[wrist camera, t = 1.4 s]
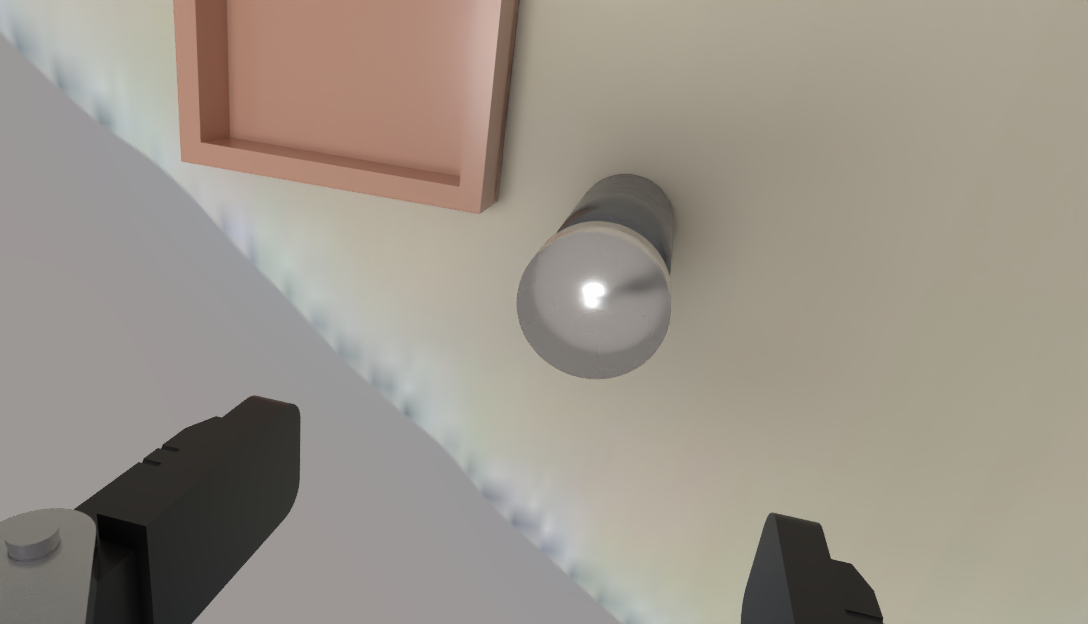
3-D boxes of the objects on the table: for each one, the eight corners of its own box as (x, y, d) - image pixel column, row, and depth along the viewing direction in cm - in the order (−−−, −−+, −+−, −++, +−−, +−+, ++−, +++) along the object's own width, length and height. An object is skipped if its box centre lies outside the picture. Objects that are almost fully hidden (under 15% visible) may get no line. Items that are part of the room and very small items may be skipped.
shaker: (686, 181, 31) (684, 247, 20) (666, 280, 33) (654, 392, 22) (582, 164, 32) (526, 220, 21) (568, 262, 34) (508, 363, 22)
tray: (528, -91, 29) (512, -106, 26) (497, 200, 33) (479, 213, 30) (213, -127, 31) (166, -146, 28) (221, 153, 35) (181, 161, 32)
